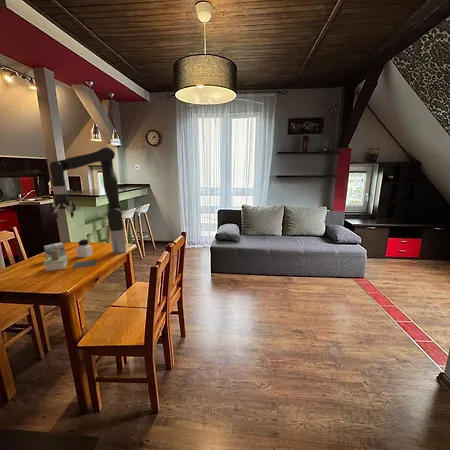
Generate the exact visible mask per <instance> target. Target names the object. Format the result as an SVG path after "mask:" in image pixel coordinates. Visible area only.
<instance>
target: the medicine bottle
mask: <svg viewBox="0 0 450 450" xmlns="http://www.w3.org/2000/svg"><path fill="white" fill-rule="evenodd" d="M77 242H78V246H77V247H76V248H75V249H76V255H77V258H88V257H90V256H92V255H93V247H92V245H91V244H90V245H89V239H85V238H83V239H80V240H78V241H77Z"/></svg>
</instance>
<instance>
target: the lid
mask: <svg viewBox="0 0 450 450" xmlns="http://www.w3.org/2000/svg"><path fill="white" fill-rule="evenodd" d="M50 253H51V258H48V259H47V260H46V259H45V260H44V262H43V263H42V266H43V265H44V266H45V265H46V264H54V263H62V262H64V261H65V260H66V259H67V260H68V257H69V255H66V256H60V257H59V251H58V249H56V250H51V251H50Z"/></svg>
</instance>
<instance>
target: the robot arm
mask: <svg viewBox="0 0 450 450" xmlns="http://www.w3.org/2000/svg"><path fill="white" fill-rule="evenodd" d="M115 155H116V154H115V151H114V150H113V149H112V148H110V147H108V146H107V147H103V148H101V149H98V150H97V151H94V152H91V153H86V154H85V153H84V154H81V155H76V156H72V157H68V158H65V159H60V160H56V161H51V162H50V164H49V169H50V176H51V182H52V191H53V197H54V202H50V203H49V211H50V212H49V213H53V215H54V218H55V219H56V220H57V219H59V215H58V214H59V213H58V211H59V210H65V209H67V210H68V211H69V212H70V218H74V216H75V215H74V212H75V211H77V208H76V207H77V206H76V203H75V201H70V200H69V194H68V188H67V185H66V179H65V171H68V170H73V169H78V168H83V167H85V166H87V165H90V164H91V165H92V164H95V163H100V165H101V169H102V170H101V171H102V172H101V174H102V183H103V189H104V192H105V195H106V198H107V201H108V212H107V221H108V227H109V231H110V232H109V233H110V241H111V248H112V253H113V254H123V253H126V252H127V246H126V238H125V232H124V231H125V230H124V225H123V223H124V222H123V218H122V216H123V211H122V208H121V203H120V196H119V195H120V194H119V193H120V192H119V184H118V178H117V176H116V173H115V171H114V163H113V160H114V159H115ZM70 205H71V206H72V208H71V206H70ZM54 206H55V209H54Z"/></svg>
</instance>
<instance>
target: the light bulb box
mask: <svg viewBox="0 0 450 450" xmlns="http://www.w3.org/2000/svg"><path fill="white" fill-rule="evenodd" d="M43 248H44V254H45V261H46V260H47V259H48V258H51V253H50V251H51V250H56V249H58V251H59V257H60V256H67V254H66V253H67V252H66V248H65V243H63V242H61V241H60V242H57V243H56V242H55V243H51V244H48V245H43Z"/></svg>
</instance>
